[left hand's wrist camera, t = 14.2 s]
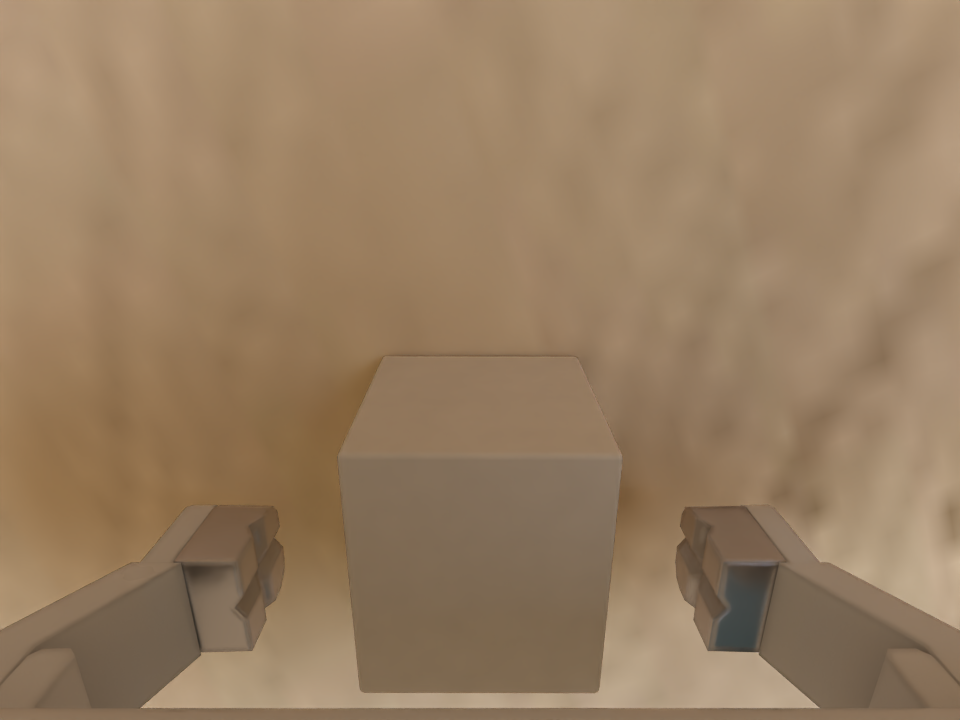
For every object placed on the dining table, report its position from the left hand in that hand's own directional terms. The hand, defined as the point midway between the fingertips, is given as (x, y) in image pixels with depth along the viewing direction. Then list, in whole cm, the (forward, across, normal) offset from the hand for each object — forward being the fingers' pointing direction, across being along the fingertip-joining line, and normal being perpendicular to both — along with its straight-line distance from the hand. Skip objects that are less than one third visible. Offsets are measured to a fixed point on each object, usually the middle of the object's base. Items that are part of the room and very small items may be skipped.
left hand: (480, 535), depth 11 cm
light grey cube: (+2, 0, 0) cm, 2 cm away
